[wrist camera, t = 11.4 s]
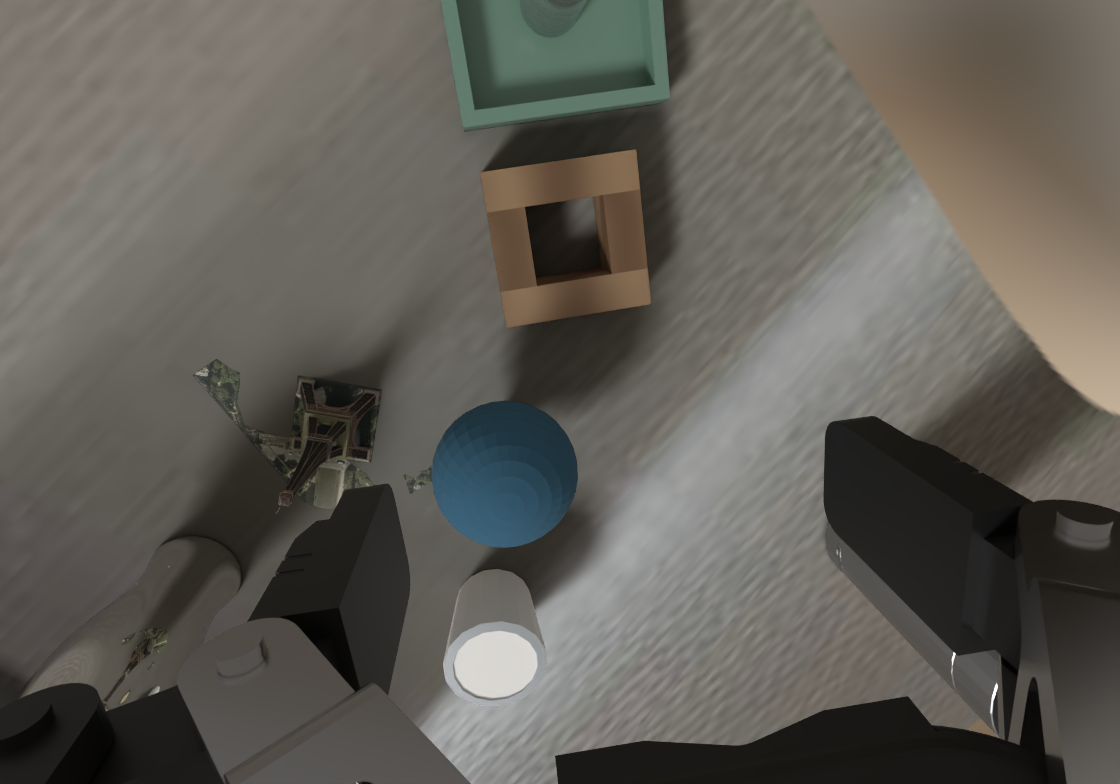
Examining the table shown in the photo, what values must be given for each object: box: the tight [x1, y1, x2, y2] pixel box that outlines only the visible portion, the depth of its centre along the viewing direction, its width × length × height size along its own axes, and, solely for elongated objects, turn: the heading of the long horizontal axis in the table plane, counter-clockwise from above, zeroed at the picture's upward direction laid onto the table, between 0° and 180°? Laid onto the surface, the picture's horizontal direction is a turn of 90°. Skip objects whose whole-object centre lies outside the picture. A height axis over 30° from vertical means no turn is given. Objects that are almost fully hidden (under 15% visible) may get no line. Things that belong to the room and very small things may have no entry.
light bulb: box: [432, 401, 578, 548], centre depth 38 cm, size 8×8×12 cm
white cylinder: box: [443, 569, 547, 707], centre depth 45 cm, size 7×7×7 cm
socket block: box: [480, 149, 651, 328], centre depth 39 cm, size 9×9×4 cm
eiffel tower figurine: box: [193, 359, 433, 514], centre depth 36 cm, size 15×10×13 cm
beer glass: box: [12, 536, 241, 711], centre depth 37 cm, size 7×7×15 cm
